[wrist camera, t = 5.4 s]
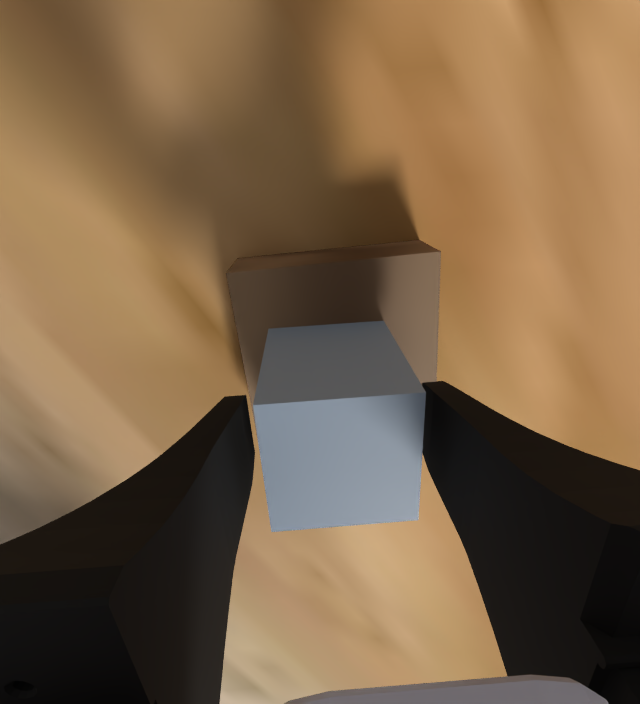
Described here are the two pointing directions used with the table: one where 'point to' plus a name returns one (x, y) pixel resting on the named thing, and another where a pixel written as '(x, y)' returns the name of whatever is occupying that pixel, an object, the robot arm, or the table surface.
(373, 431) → the blue block
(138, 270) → the table surface
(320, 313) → the walnut pedestal
